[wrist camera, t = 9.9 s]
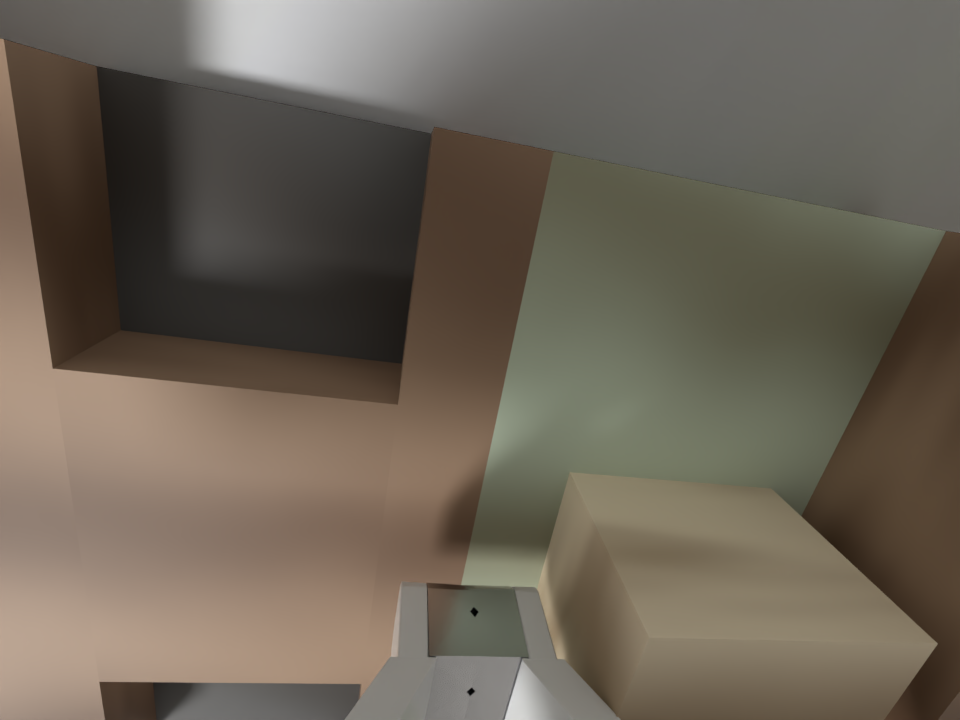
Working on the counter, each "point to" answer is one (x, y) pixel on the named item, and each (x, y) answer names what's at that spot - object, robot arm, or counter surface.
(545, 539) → the board
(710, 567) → the block
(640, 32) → the counter surface
